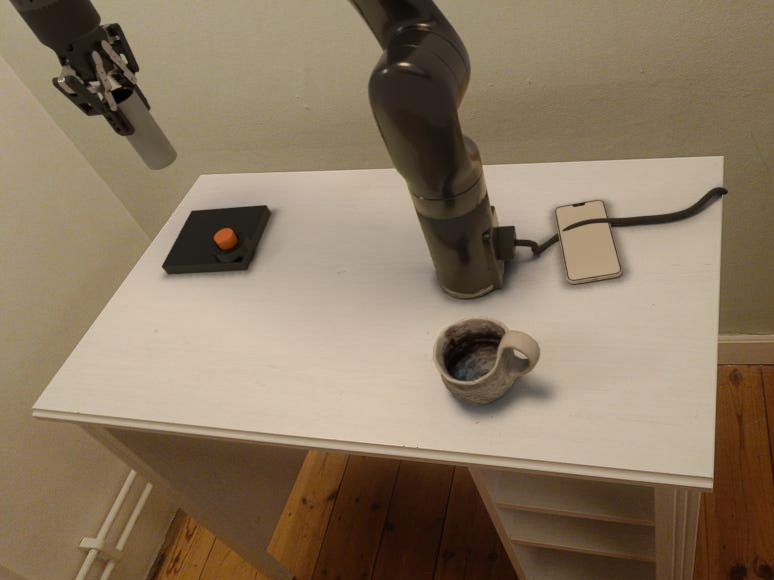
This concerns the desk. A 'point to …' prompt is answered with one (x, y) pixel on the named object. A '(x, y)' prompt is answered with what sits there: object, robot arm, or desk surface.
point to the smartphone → (587, 243)
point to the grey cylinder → (144, 130)
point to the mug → (482, 358)
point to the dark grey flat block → (202, 251)
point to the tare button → (226, 239)
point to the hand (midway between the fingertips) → (136, 122)
